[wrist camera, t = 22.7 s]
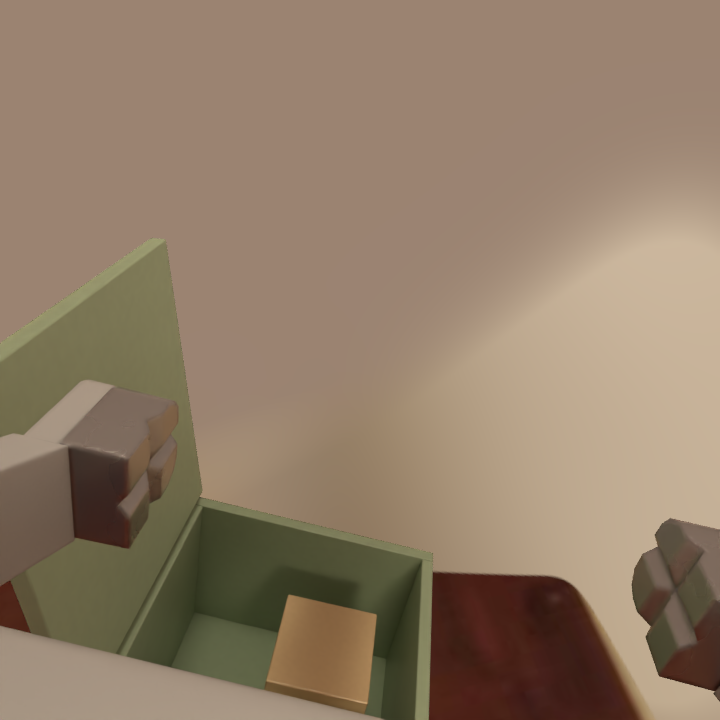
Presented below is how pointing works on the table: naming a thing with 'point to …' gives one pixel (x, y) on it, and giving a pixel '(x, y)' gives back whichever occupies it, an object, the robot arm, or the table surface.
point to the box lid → (119, 368)
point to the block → (323, 654)
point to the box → (284, 601)
